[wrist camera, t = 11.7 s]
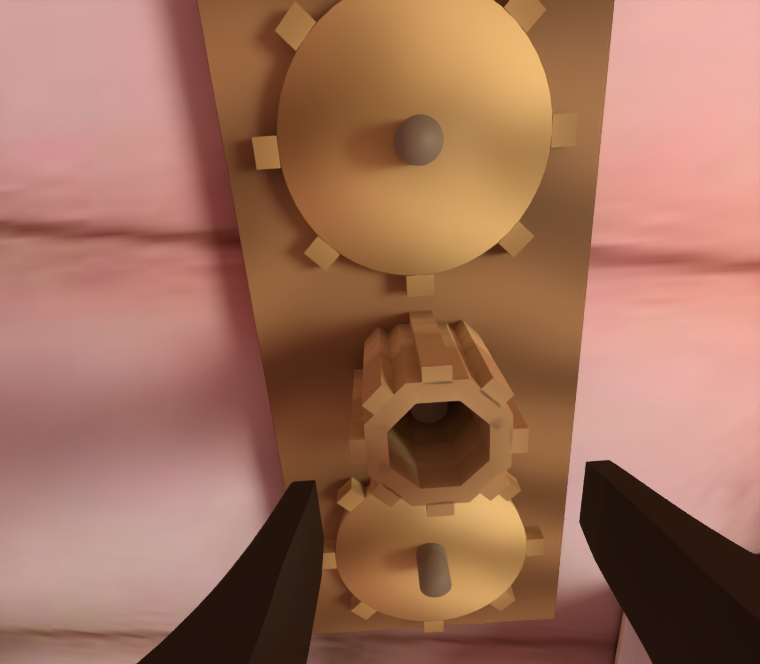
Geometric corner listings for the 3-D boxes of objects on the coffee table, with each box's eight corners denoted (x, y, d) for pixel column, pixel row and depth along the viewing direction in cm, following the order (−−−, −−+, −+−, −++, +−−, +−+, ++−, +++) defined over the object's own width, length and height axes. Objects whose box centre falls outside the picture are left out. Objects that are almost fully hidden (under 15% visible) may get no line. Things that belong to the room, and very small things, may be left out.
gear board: (544, 593, 26) (573, 667, 22) (314, 608, 26) (304, 684, 22) (600, -71, 15) (675, -145, 11) (203, -40, 15) (148, -102, 11)
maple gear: (488, 427, 20) (524, 510, 15) (361, 436, 20) (358, 521, 16) (491, 306, 18) (532, 359, 13) (349, 316, 18) (341, 373, 13)
